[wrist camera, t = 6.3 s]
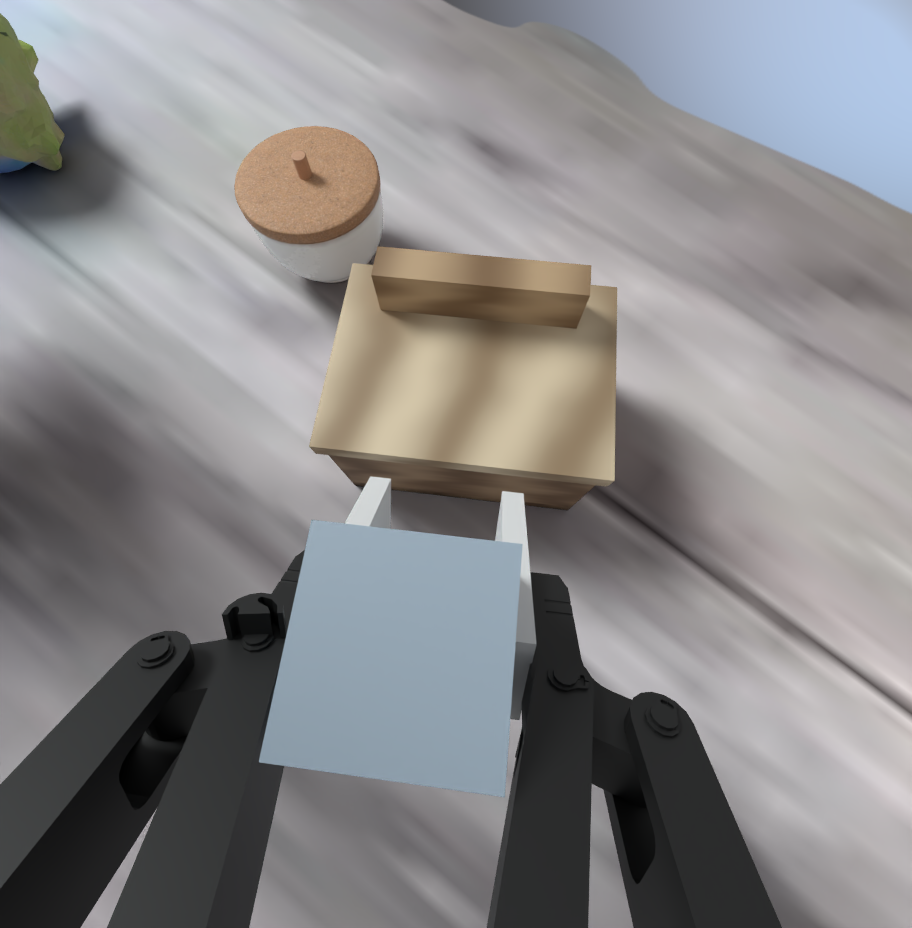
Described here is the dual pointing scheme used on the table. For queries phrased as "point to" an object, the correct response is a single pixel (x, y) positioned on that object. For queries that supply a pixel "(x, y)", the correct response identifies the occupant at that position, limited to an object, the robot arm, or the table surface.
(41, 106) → the globe
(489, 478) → the toolbox
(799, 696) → the table surface
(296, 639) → the blue-grey block
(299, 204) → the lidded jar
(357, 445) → the lid
